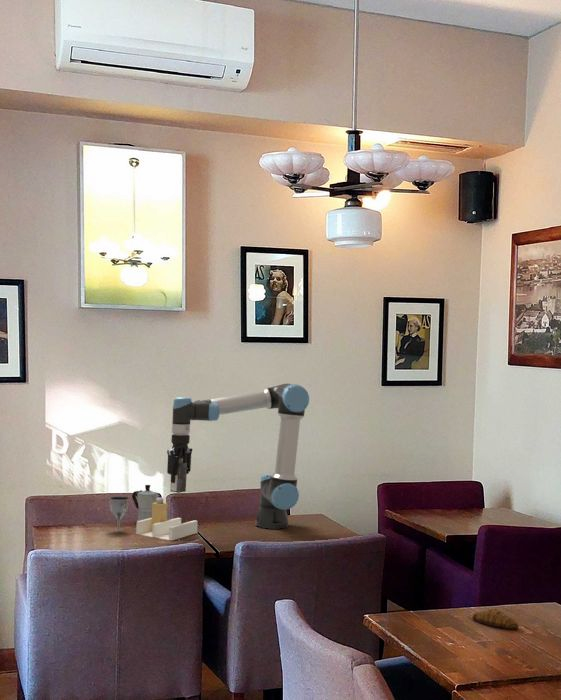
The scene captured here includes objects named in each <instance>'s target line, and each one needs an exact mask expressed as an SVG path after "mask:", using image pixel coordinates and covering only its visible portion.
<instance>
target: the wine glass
mask: <svg viewBox="0 0 561 700" xmlns="http://www.w3.org/2000/svg"><path fill="white" fill-rule="evenodd" d="M129 505H130V497H129V496H124V495H121V496H120V495H118V496H117V495H115V496H110V497H109V509H110V511H111V514H113V516H114V517H115V519H116V522H117V530H116V533H120V532H121V530H120V524H121V521H122V518H123V517H124V516H125V514H126V513H127V512H128V510H129Z"/></svg>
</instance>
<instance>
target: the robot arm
mask: <svg viewBox="0 0 561 700" xmlns="http://www.w3.org/2000/svg"><path fill="white" fill-rule="evenodd" d="M309 403H310V395H309V392H308V390H306V388H305V387H304V386H301V385H299V384H295V383H283V384H279V385H275V386H271V387H266V388H264V389H263V390H261V391H254V392H248V393H241V394H235V395H234V394H233V395H228V396H222V397H216V398H210V399H203V400H200V399H199V400H194V401H192V398H191V397H186V396H185V397H184V396H183V397H182V396H181V397H180V396H178V397H174V398H173V404H172V405H173V406H172V423H171V424H172V425H171V433H172V434H171V439H170V440H171V443H172V446H171V449H167V451H166V452H167V453H166V454H167V467H166V468H167V471H166V472H167V473H166V474H168V475H170V489H171V490H172V491H177V480H178V475H176V473H177V468H178V463H179V459H180V458H183V463H187V474H186V477H187V475H189V474H190V472H191V468H192V467H191V465H192V455H193V454H192V452H193V448H190V447H189V446H188V445H189V444H190V439H191V438H190V437H191V436H190V432H191V421H208V422H211V421H212V422H213V421H214V422H215V421H218V419H219V417H220V415H228V414H234V413H239V412H247V411H252V410H259V409H264V408H266V409H268V410H270V409H271V410H273V409H278V410H277V415H278V416H279V417H280V422H279V430H278V431H279V433H278V442H277V451H276V457H275V458H276V459H275V469H274V473H272V474H263V475H261V477H260V482H259V483H260V490H259V491H260V493H259V495H260V497H259V510H258V512H257V516H256V518H255V524H256V525H257V526H259V527H258V528H260V527H262V529H266V528H268V529H269V530H280V528H282V529H286V528H285V527H287V528H289V527H288V526H290V520H289V517H288V513H287V510H290V509H292V508H293V507H294V506H296V504H297V503H298V501H299V497H300V495H299V494H300V493H299V490H298V487H297V485H298V477H297V476H296V474H295V472H296V461H297V452H298V443H299V435H300V428H301V427H300V425H301V420H302V419H303V418H305V412H306V409H307V408H308V406H309ZM256 525H255V526H256ZM257 526H256V527H257Z"/></svg>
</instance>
